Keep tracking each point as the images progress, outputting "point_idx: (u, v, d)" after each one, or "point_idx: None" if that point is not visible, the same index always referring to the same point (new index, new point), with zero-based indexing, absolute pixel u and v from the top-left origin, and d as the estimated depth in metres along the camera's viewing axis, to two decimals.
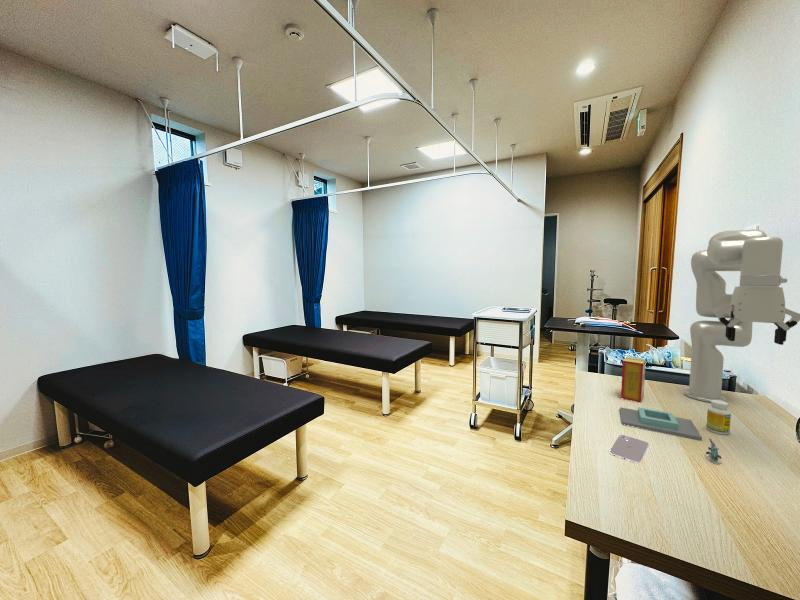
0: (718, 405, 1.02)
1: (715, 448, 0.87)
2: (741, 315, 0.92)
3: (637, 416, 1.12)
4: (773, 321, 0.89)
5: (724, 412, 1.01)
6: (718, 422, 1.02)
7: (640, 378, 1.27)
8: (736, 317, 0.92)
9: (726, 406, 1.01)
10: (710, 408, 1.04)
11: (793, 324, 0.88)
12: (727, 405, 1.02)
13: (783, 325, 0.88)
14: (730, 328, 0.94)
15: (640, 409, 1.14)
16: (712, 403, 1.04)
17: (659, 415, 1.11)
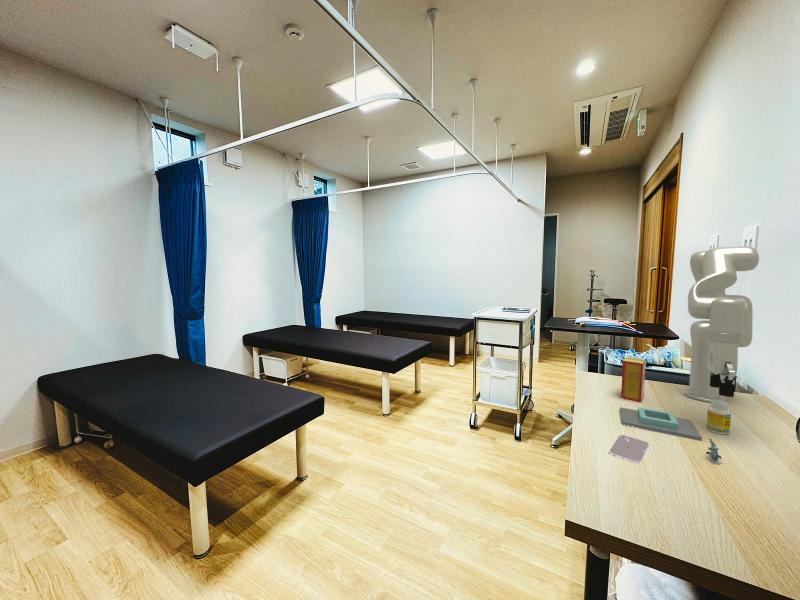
0: (718, 405, 1.02)
1: (715, 448, 0.87)
2: None
3: (637, 416, 1.12)
4: None
5: (724, 412, 1.01)
6: (718, 422, 1.02)
7: (640, 378, 1.27)
8: None
9: (726, 406, 1.01)
10: (710, 408, 1.04)
11: None
12: (727, 405, 1.02)
13: None
14: None
15: (640, 409, 1.14)
16: (712, 403, 1.04)
17: (659, 415, 1.11)
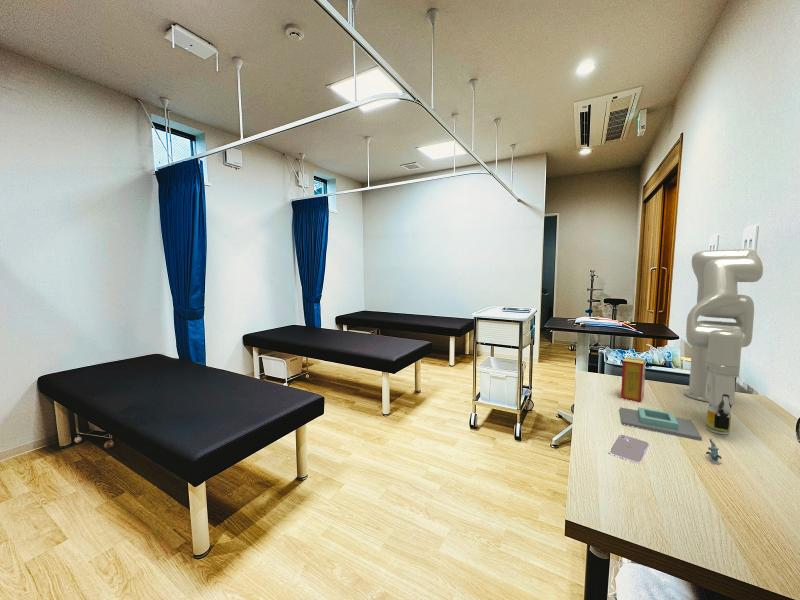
0: None
1: (715, 448, 0.87)
2: None
3: (637, 416, 1.12)
4: None
5: None
6: None
7: (640, 378, 1.27)
8: None
9: None
10: (710, 408, 1.04)
11: None
12: None
13: None
14: None
15: (640, 409, 1.14)
16: None
17: (659, 415, 1.11)
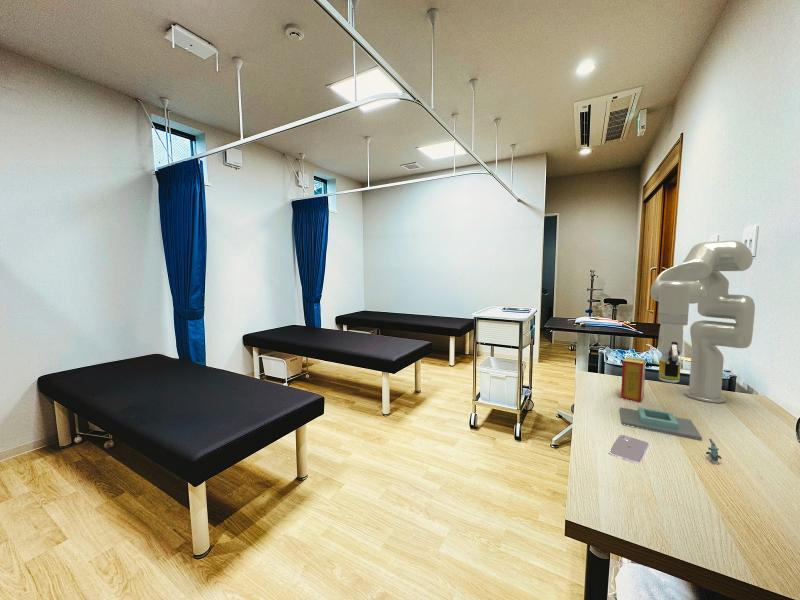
0: None
1: (715, 448, 0.87)
2: (681, 351, 1.02)
3: (637, 416, 1.12)
4: None
5: None
6: None
7: (640, 378, 1.27)
8: (681, 353, 1.02)
9: None
10: (661, 358, 1.07)
11: None
12: None
13: None
14: None
15: (640, 409, 1.14)
16: None
17: (659, 415, 1.11)
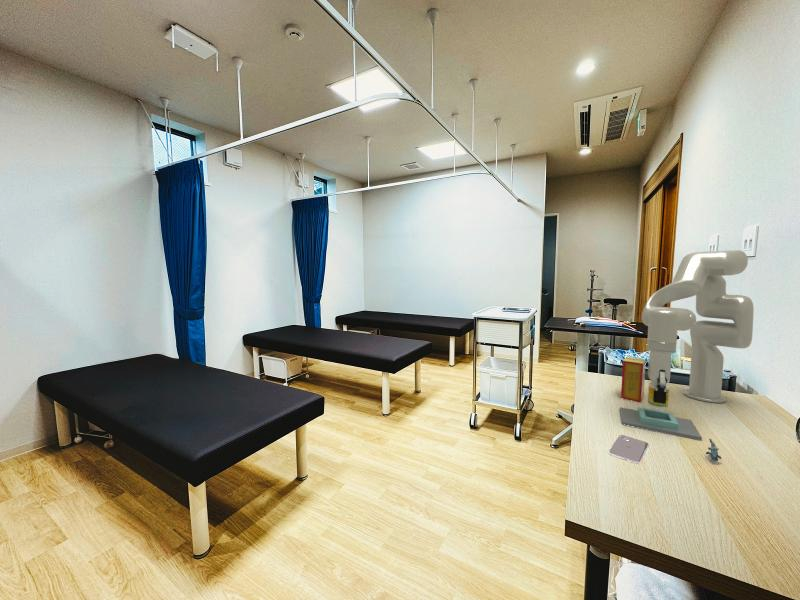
0: (657, 380, 1.07)
1: (715, 448, 0.87)
2: (669, 378, 1.04)
3: (637, 416, 1.12)
4: None
5: None
6: None
7: (640, 378, 1.27)
8: None
9: None
10: (650, 384, 1.09)
11: None
12: None
13: None
14: None
15: (640, 409, 1.14)
16: None
17: (659, 415, 1.11)
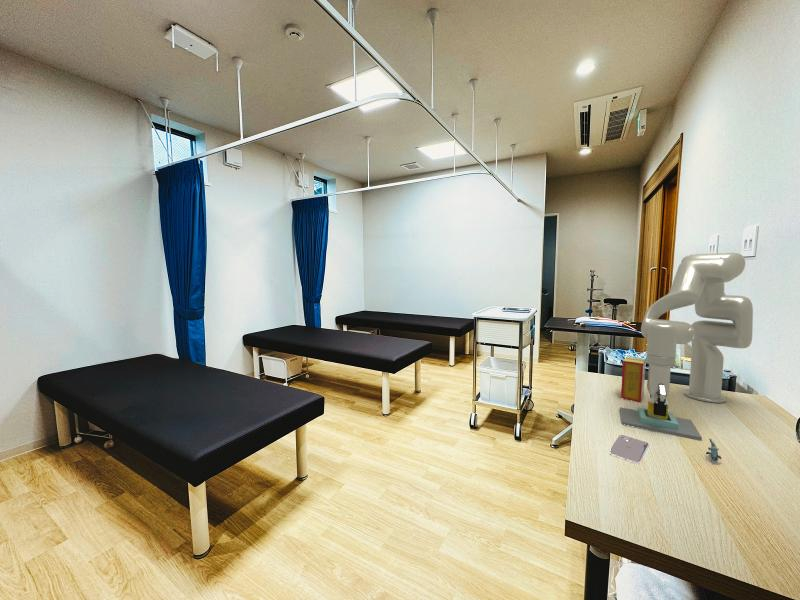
0: None
1: (715, 448, 0.87)
2: (668, 392, 1.04)
3: (637, 416, 1.12)
4: None
5: None
6: None
7: (640, 378, 1.27)
8: (668, 395, 1.03)
9: None
10: (650, 399, 1.09)
11: None
12: None
13: None
14: (663, 405, 1.04)
15: (640, 409, 1.14)
16: (652, 394, 1.09)
17: None
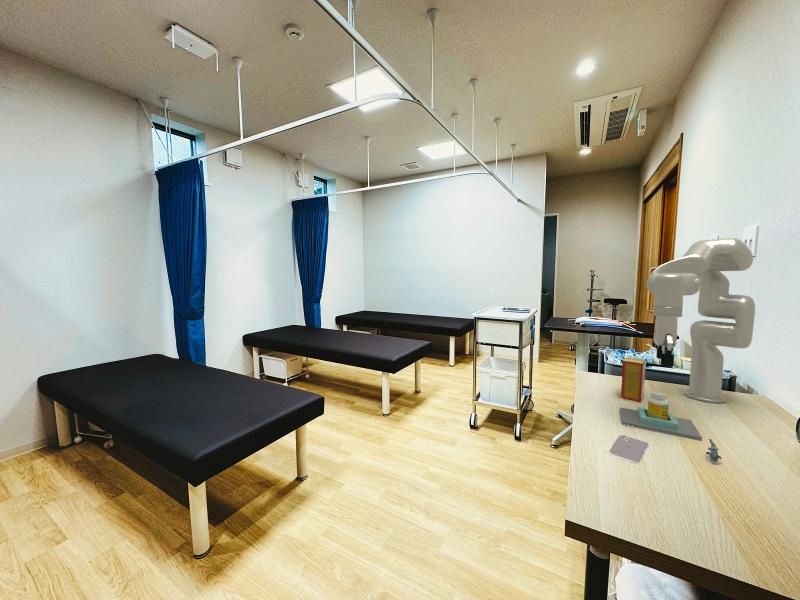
0: (656, 396, 1.07)
1: (715, 448, 0.87)
2: None
3: (637, 416, 1.12)
4: None
5: (661, 402, 1.06)
6: (656, 412, 1.07)
7: (640, 378, 1.27)
8: (675, 345, 1.03)
9: (663, 397, 1.06)
10: (650, 399, 1.09)
11: None
12: (665, 396, 1.07)
13: None
14: (671, 355, 1.03)
15: (640, 409, 1.14)
16: (652, 394, 1.09)
17: None
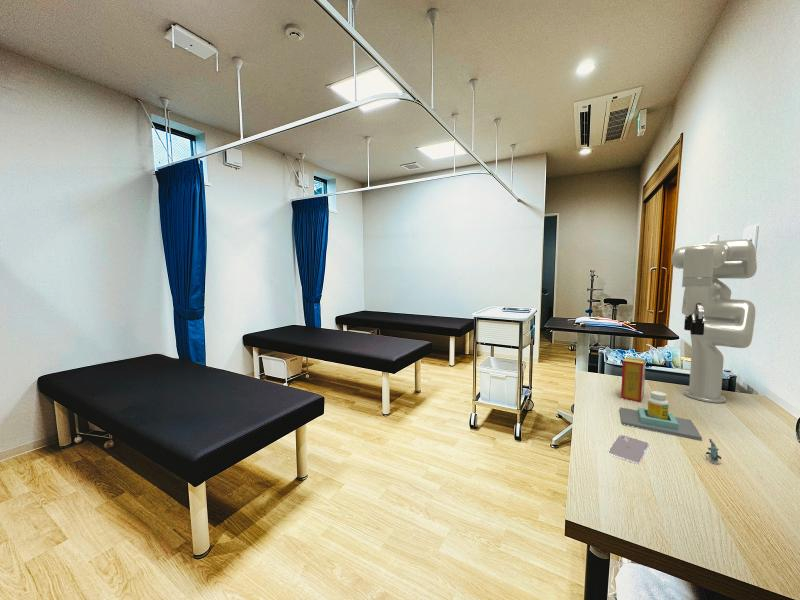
0: (656, 396, 1.07)
1: (715, 448, 0.87)
2: (706, 311, 1.07)
3: (637, 416, 1.12)
4: None
5: (661, 402, 1.06)
6: (656, 412, 1.07)
7: (640, 378, 1.27)
8: (705, 314, 1.06)
9: (663, 397, 1.06)
10: (650, 399, 1.09)
11: None
12: (665, 396, 1.07)
13: None
14: None
15: (640, 409, 1.14)
16: (652, 394, 1.09)
17: None
